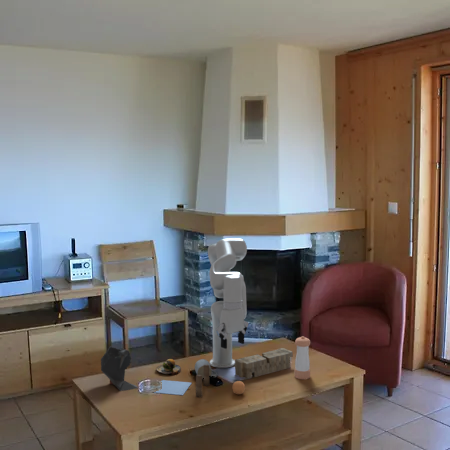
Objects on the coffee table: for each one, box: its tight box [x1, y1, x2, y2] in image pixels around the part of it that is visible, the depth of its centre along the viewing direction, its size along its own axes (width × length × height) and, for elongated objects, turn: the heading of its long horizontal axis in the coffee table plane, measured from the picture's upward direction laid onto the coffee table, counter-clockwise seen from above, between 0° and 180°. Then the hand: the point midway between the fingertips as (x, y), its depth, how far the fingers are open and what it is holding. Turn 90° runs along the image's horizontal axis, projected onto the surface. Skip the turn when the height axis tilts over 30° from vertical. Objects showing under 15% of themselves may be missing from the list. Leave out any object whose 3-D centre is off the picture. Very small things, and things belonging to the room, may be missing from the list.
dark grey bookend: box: [100, 346, 139, 392], centre depth 250 cm, size 14×15×18 cm
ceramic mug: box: [194, 358, 218, 380], centre depth 261 cm, size 10×8×7 cm
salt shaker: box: [293, 335, 311, 380], centre depth 260 cm, size 7×7×19 cm
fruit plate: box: [155, 358, 182, 376], centre depth 268 cm, size 12×12×8 cm
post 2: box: [203, 365, 210, 387], centre depth 251 cm, size 3×3×9 cm
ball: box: [232, 380, 246, 395], centre depth 241 cm, size 6×6×6 cm
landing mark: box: [153, 379, 192, 396], centre depth 248 cm, size 14×14×1 cm
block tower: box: [234, 347, 293, 380], centre depth 268 cm, size 8×8×29 cm
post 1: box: [195, 374, 203, 398], centre depth 238 cm, size 3×3×9 cm
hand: (232, 345), depth 234 cm, fingers open, 9 cm apart
